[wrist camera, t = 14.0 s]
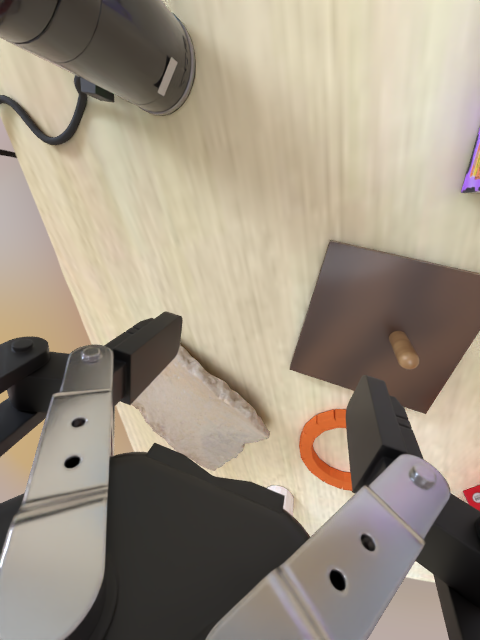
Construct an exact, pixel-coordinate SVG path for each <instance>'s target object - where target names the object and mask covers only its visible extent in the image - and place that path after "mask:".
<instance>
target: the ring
mask: <svg viewBox="0 0 480 640" xmlns="http://www.w3.org/2000/svg"><path fill="white" fill-rule="evenodd" d="M334 428H346V410H345V409H335V411H334V410H330V411H327V412H323V413H320V414H318V416H317V415H316V416H314V417H313V418H312V419H311V420H310V421H308V422H307V423H306V425H305V426H304V428H303V431H302V433H301V436H300V443H299V447H300V453H301V458H302V460H303V462H304V463H305V465H306V466H307V468H308V469H309V471H311V473H313V474H314V475H315V476H317V477H318V478H319V479H321V480H322V481H323V482H324V481H325V483H327V484H330V485H332V486H335V487H337V488H340V489H342V487H343V490H350V491H352V482H351V473H349V472H342V471H339V470H337V469H334V468H332V467H330V466H328V465H327V464H326V463H324V462H323V461H322V460H320V459H319V457H318V456H317V454H316V453H315V451H314V450H313V442H314V440H315V438H316V437H317V436H319V435H320V434H321V433H323V432H324V431H327V430H330V429H334Z"/></svg>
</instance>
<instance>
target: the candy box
mask: <svg viewBox="0 0 480 640" xmlns="http://www.w3.org/2000/svg"><path fill="white" fill-rule="evenodd" d="M461 193H480V129H479V133H478V136H477V139H476V143H475V146H474V150H473V154H472V157H471V161H470V164H469V167H468V170H467V173H466V177H465V180H464V184H463V187H462V190H461Z"/></svg>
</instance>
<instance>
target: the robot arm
mask: <svg viewBox="0 0 480 640" xmlns="http://www.w3.org/2000/svg"><path fill="white" fill-rule="evenodd" d="M0 38H2V39H4V40H6V41H8V42H10V43H12V44H14V45H16V46H18V47H20V48H22V49H24V50H26V51H28V52H30V53H32V54H34V55H36V56H38V57H40V58H42V59H44V60H46V61H48V62H50V63H52V64H54V65H56V66H58V67H60V68H62V69H64V70H66V71H68V72H70V73H72V74H75V78H74V84H75V87H76V89H77V91H78V93H79V97H78V102H77V106H76V109H75V112H74V115H73V118H72V120H71V122H70V124H69V126H68V127H67V129H66V130H65V131H64V132H63V133H62V134H61V135H59V136H57V137H54V138H53V137H48V136H46V135H44V134H43V133H42V132H41V131H40V130H39V129H38V128H37V126H36V125H35V124H34V123H33V121H32V120H31V119H30V118H29V116H28V115H27V114H26V113H25V111H24V110H23V109H22V108H21V107H20V106H19V105H18V104H17V103H16V102H15V101H14V100H12V99H11V98H9V97H7V96H5V95H0V104H1V103H6V104H8V105H10V106H11V107H12V108H13V109H14V110H15V111H16V112H17V113H18V114H19V115H20V117H21V118H22V119H23V121H24V122H25V123H26V124H27V126H28V127H29V128H30V129H31V131H32V132H33V133H34V134H35V135H36V136H37V137H38V138H39V139H41V140H42V141H43V142H45V143H48V144H50V145H59V144H62V143H64V142H66V141H67V140H69V139H70V138H71V137H72V135H73V134H74V133H75V131H76V129H77V127H78V125H79V123H80V120H81V117H82V115H83V112H84V109H85V105H86V101H87V95H89V96H92V97H94V98H96V99H98V100H101V101H107V102H114V94H115V95H117V96H119V97H121V98H123V99H125V100H127V101H128V102H130V103H132V104H134V105H136V106H139V107H140V108H141V109H143V110H144V111H146V112H148V113H151V114H153V115H167V114H170V113H172V112H174V111H175V110H177V109H178V108H179V107H180V106H181V105H182V104H183V103H184V101H185V100H186V98H187V97H188V95H189V92H190V90H191V87H192V84H193V80H194V75H195V54H194V48H193V44H192V41H191V38H190V36H189V34H188V32H187V30H186V28H185V26H184V25H183V24H182V22H181V21H180V20H179V19H178V18H177V17H176V16H175V15H174V14H173V13H172V12H171V11H170V10H169V9H168V8H167V6H166V5H165V4H164V3H163V1H162V0H0ZM0 155H2V156H9V157H14V158H17V156H16V153H15V152H11V151H7V150H1V149H0ZM181 330H182V317H181V316H179V315H175V314H172V313H169V312H163V313H162V314H161V315H159V316H158V317H156V318H155V319H153V318H150V319H147V320H144V321H140V322H139V323H137V324H136V325H134V326H133V328H130V329H128V330H127V331H126V332H124V333H122V334H121V335H119V336H118V337H116V338H115V339H113V340H112V341H110V342H109V343H107V344H106V345H104V346H102V345H88V346H83V347H80V348H77V349H76V350H74V351H72V352H71V353H70V354H65V353H56V352H49V346H48V342H47V341H46V340H44V339H42V338H39V337H21V338H16V339H12V340H9V341H7V342H5V343H3V344H1V345H0V394H1V393H2V392H4V391H5V390H7V391H8V396H9V398H8V399H7V400H5V401H3V402H2V403H1V404H0V456H2V455H3V454H4V453H5V452H6V451H8V450H9V449H10V448H11V447H12V446H13V445H15V444H16V443H17V442H18V441H19V440H20V439H22V438H23V437H24V436H25V435H26V434H27V433H29V432H30V431H31V430H32V429H33V428H35V427H36V426H37V425H38V424H39V423H40V422H42V421H43V420H44V419H45V418H46V419H45V422H44V426H43V429H42V433H41V436H40V440H39V444H38V447H37V451H36V454H35V458H34V461H33V465H32V469H31V472H30V476H29V480H28V483H27V487H26V490H25V493H24V494H22V495H19V496H17V497H15V498H12V499H10V500H8V501H5V502H3V503H0V640H367V639H368V638H369V636H370V634H371V633H372V631H373V629H374V627H375V626H376V624H377V623H378V621H379V619H380V618H381V616H382V614H383V613H384V611H385V610H386V608H387V606H388V605H389V603H390V601H391V600H392V598H393V596H394V595H395V593H396V592H397V590H398V588H399V586H400V585H401V583H402V582H403V580H404V578H405V577H406V575H407V573H408V572H409V570H410V569H411V567H412V565H413V564H414V562H415V561H417V562H418V563H419V564H421V565H422V566H423V567H425V568H426V569H427V570H429V571H430V572H431V573H433V574H434V578H435V582H436V587H437V591H438V595H439V599H440V603H441V607H442V612H443V616H444V620H445V624H446V628H447V632H448V636H449V640H480V511H479V510H477V509H475V508H474V507H472V506H470V505H469V504H467V503H466V502H464V501H462V500H461V499H459V498H457V497H456V496H454V495H453V494H451V493H450V488H449V485H448V483H447V481H446V480H445V478H444V477H443V476H442V475H441V473H440V472H439V471H438V470H437V469H436V468H435V467H433V466H432V465H431V464H430V463H428V462H427V461H425V460H424V459H423V457H422V454H421V451H420V449H419V446H418V443H417V441H416V438H415V435H414V433H413V430H411V428H412V427H411V425H410V422H409V421H408V417H407V414H406V412H405V409H404V407H403V406H402V405H401V404H400V402H399V401H398V400H397V399H396V398H395V397H393V396H390V395H389V392H388V389H387V386H386V383H385V381H383V380H380V379H377V378H374V377H371V376H368V375H363V376H362V377H361V379H360V381H359V383H358V385H357V387H356V389H355V391H354V393H353V395H352V397H351V399H350V401H349V403H348V406H347V409H346V429H347V439H348V450H349V461H350V472H351V482H352V492H353V493H356V494H355V495H354V496H353V497H352V498H351V499H350V500H348V501H347V502H346V503H345V504H344V505H343V506H342V507H341V508H340V509H339V510H338V511H337V512H336V513H335V514H334V515H333V516H332V517H331V518H330V519H329V520H328V521H327V522H326V523H325V524H324V525H323V526H322V527H321V528H320V529H318V530H317V531H316V532H315V533H314V534H313V535H312V536H311V537H310V536H309V534H308V533H307V532H306V530H305V529H304V528H303V527H302V525H301V524H300V523H299V522H298V521H297V520H296V519H295V518H294V517H293V516H292V515H291V514H290V513H289V512H287V511H286V510H285V509H283V505H284V498H285V496H284V495H282V494H279V493H277V492H274V491H272V490H270V489H267V488H265V487H262V486H260V485H257V484H255V483H252V482H248V481H241V480H234V479H227V478H220V477H215V476H212V475H211V474H209V473H208V472H207V471H205V470H204V469H203V468H201V467H200V466H199V465H197V464H196V463H195V462H193V461H192V460H191V459H189V458H188V457H187V456H185V455H183V454H181V453H179V452H176V451H174V450H171V449H169V448H166V447H164V446H161V445H159V444H156V443H154V444H153V446H152V447H151V448H150V450H149V451H148V453H147V452H131V453H123V454H118V455H115V456H114V426H115V423H114V422H115V405H116V404H117V403H118V402H119V401H121V402H123V403H126V404H129V405H131V404H132V403H133V402H134V401H135V400H136V399H137V397H138V396H139V395H140V394H141V393H142V392H143V391H144V390H145V389H146V388H147V387H148V386H149V385H150V384H151V383H152V382H153V381H154V379H155V378H156V377H157V376H158V375H159V374H160V373H161V372H162V371H163V370H164V369H165V368H166V367H167V366H168V365H169V364H170V362H171V361H172V360H173V359H174V358H175V357H176V355H177V353H178V351H179V347H180V339H181Z"/></svg>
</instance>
